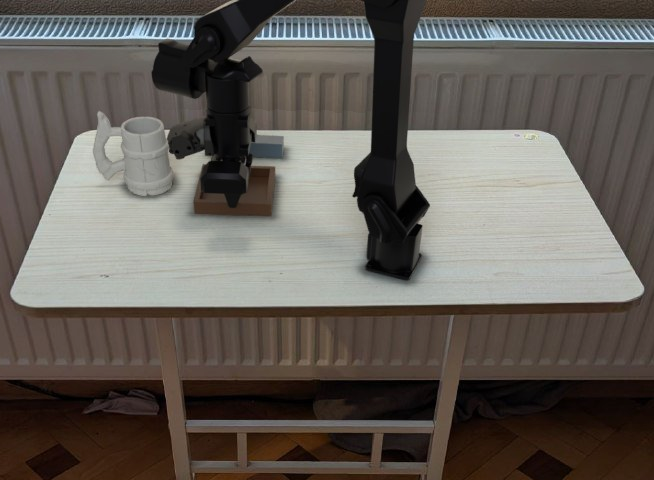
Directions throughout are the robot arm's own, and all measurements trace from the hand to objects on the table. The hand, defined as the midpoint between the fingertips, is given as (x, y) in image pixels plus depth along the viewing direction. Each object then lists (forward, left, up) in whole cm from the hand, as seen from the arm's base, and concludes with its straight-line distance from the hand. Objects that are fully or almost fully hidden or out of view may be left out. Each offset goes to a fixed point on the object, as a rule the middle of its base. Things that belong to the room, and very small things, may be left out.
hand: (232, 206), depth 124 cm
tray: (+2, -6, -2) cm, 7 cm away
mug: (+18, -2, -2) cm, 18 cm away
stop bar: (+7, -19, -2) cm, 20 cm away
